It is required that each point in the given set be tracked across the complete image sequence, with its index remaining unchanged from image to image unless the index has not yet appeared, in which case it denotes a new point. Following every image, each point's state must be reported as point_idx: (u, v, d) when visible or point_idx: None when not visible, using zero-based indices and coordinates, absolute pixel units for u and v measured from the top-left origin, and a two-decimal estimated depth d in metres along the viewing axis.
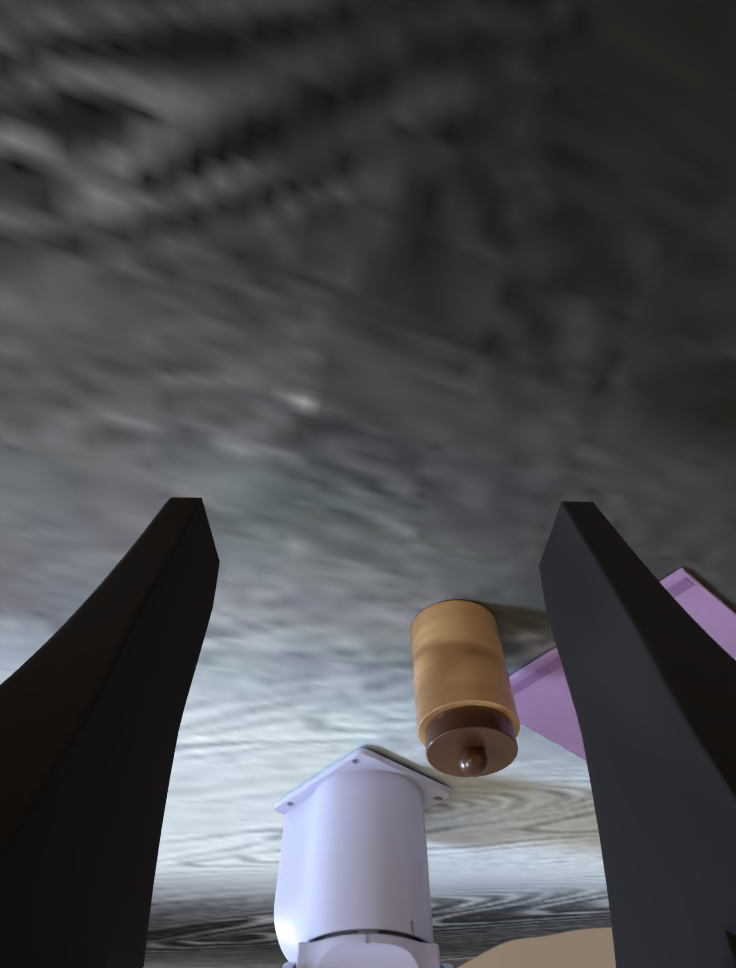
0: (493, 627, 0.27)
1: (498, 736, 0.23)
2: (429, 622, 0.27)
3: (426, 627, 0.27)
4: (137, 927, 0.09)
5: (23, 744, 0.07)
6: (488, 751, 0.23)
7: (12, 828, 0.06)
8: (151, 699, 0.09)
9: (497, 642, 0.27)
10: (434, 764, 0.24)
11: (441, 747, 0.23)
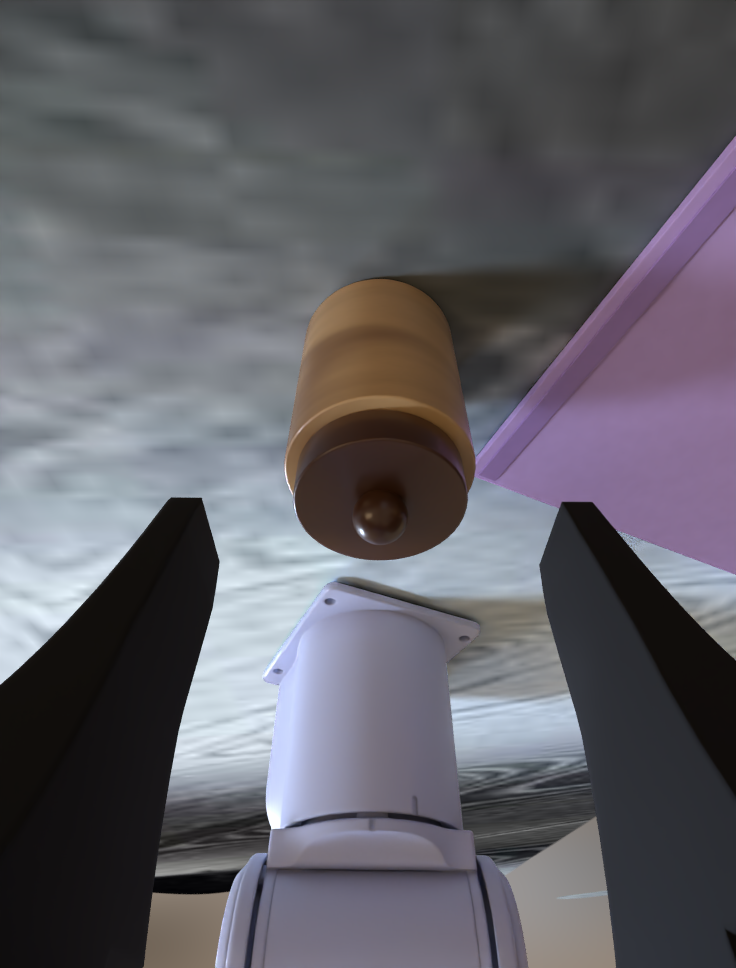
0: (427, 310, 0.15)
1: (410, 455, 0.11)
2: (313, 326, 0.15)
3: (309, 336, 0.16)
4: (137, 927, 0.09)
5: (23, 744, 0.07)
6: (409, 495, 0.12)
7: (12, 828, 0.06)
8: (151, 699, 0.09)
9: (431, 327, 0.14)
10: (325, 542, 0.13)
11: (316, 502, 0.12)
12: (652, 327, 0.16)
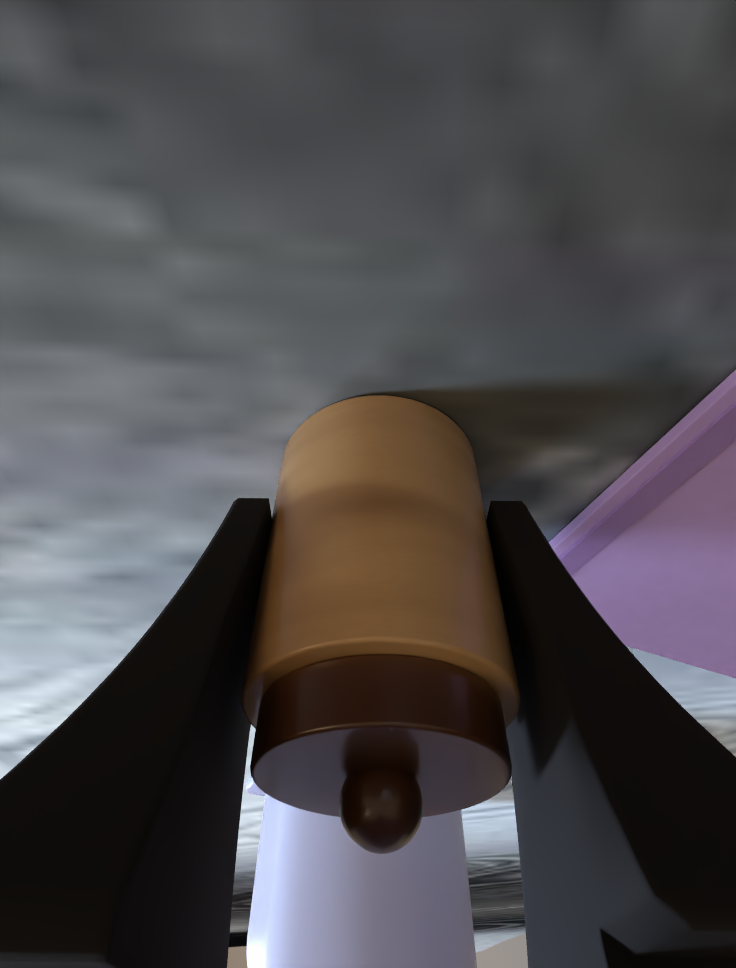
0: (444, 443, 0.11)
1: (427, 739, 0.07)
2: (290, 460, 0.11)
3: (284, 473, 0.11)
4: (223, 928, 0.09)
5: (135, 746, 0.07)
6: (424, 771, 0.08)
7: (143, 829, 0.06)
8: (232, 700, 0.09)
9: (452, 475, 0.10)
10: (302, 807, 0.09)
11: (285, 777, 0.08)
12: None
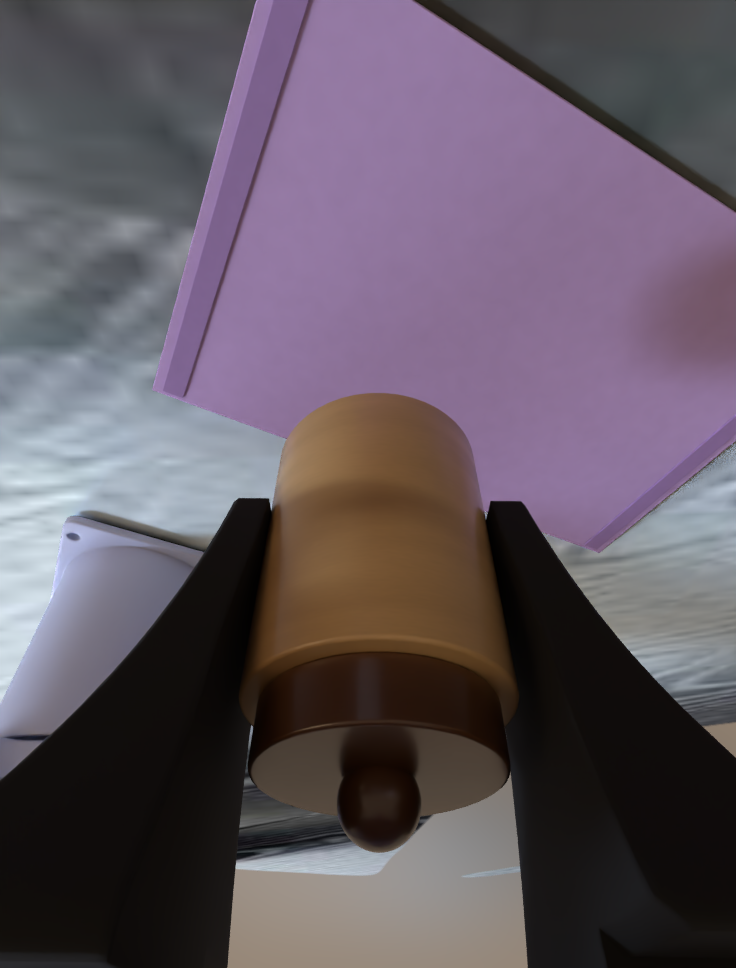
0: (443, 440, 0.11)
1: (425, 737, 0.07)
2: (288, 458, 0.11)
3: (282, 471, 0.11)
4: (223, 928, 0.09)
5: (135, 745, 0.07)
6: (422, 770, 0.08)
7: (144, 829, 0.06)
8: (233, 700, 0.09)
9: (450, 472, 0.10)
10: (300, 805, 0.09)
11: (283, 775, 0.08)
12: (265, 218, 0.16)
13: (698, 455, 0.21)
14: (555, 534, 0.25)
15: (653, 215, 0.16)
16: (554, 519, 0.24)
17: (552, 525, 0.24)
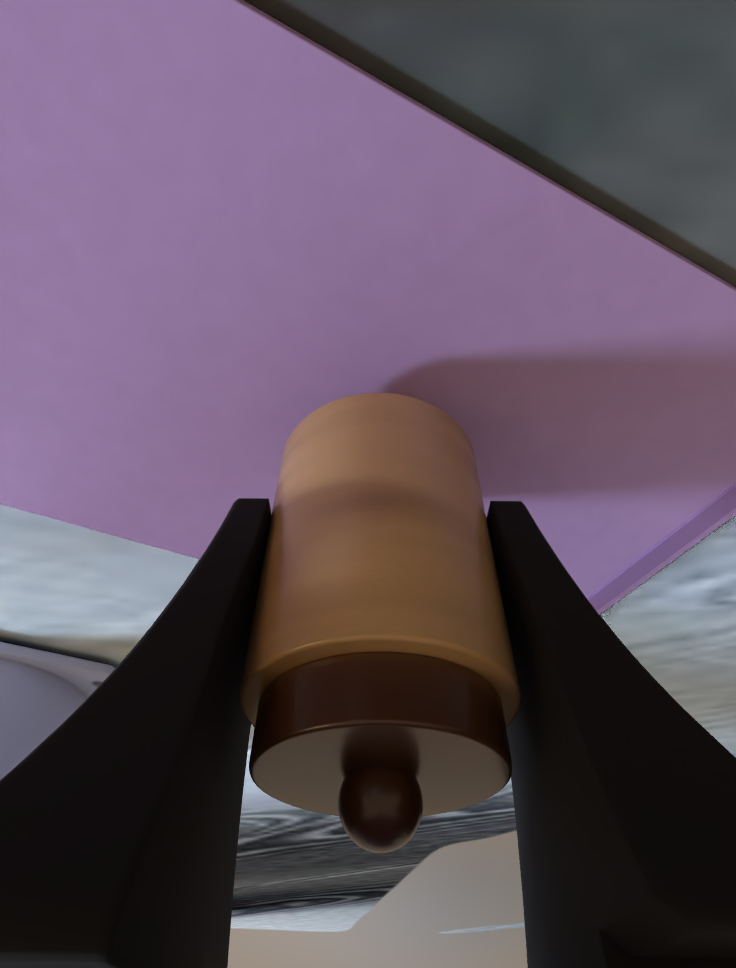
0: (444, 440, 0.11)
1: (427, 738, 0.07)
2: (289, 458, 0.11)
3: (283, 471, 0.11)
4: (223, 928, 0.09)
5: (136, 745, 0.07)
6: (424, 770, 0.08)
7: (144, 829, 0.06)
8: (233, 700, 0.09)
9: (452, 472, 0.10)
10: (301, 805, 0.09)
11: (284, 775, 0.08)
12: (9, 273, 0.11)
13: (657, 554, 0.17)
14: None
15: (563, 264, 0.11)
16: None
17: None
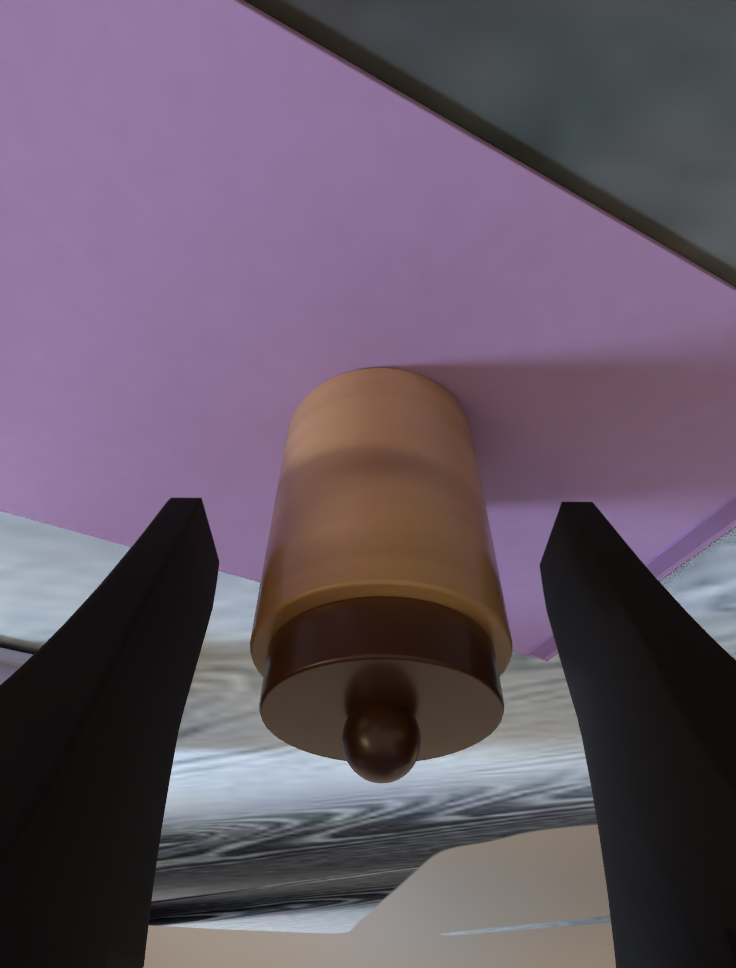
0: (442, 412, 0.12)
1: (424, 673, 0.08)
2: (295, 430, 0.12)
3: (289, 441, 0.12)
4: (137, 927, 0.09)
5: (23, 744, 0.07)
6: (422, 709, 0.09)
7: (12, 828, 0.06)
8: (151, 699, 0.09)
9: (449, 441, 0.11)
10: (307, 749, 0.10)
11: (292, 715, 0.09)
12: (3, 278, 0.11)
13: (661, 561, 0.16)
14: None
15: (569, 270, 0.11)
16: None
17: None
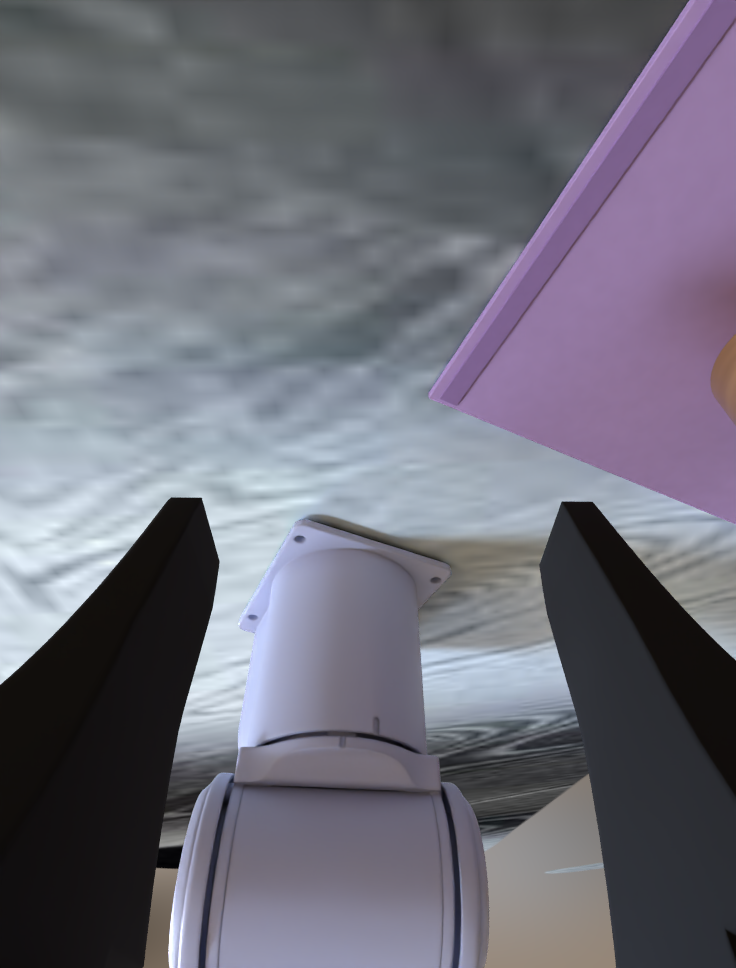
0: None
1: None
2: None
3: None
4: (137, 927, 0.09)
5: (23, 745, 0.07)
6: None
7: (12, 828, 0.06)
8: (151, 699, 0.09)
9: None
10: None
11: None
12: (602, 235, 0.16)
13: None
14: None
15: None
16: None
17: None
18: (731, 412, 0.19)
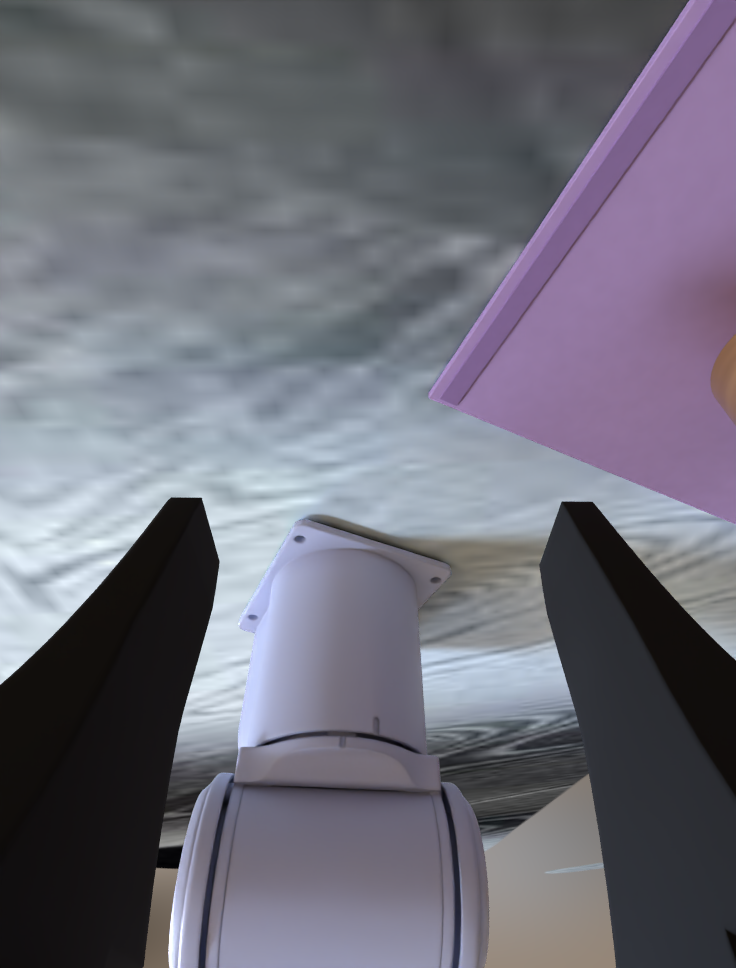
0: None
1: None
2: None
3: None
4: (137, 927, 0.09)
5: (23, 745, 0.07)
6: None
7: (12, 828, 0.06)
8: (151, 699, 0.09)
9: None
10: None
11: None
12: (602, 235, 0.16)
13: None
14: None
15: None
16: None
17: None
18: (731, 412, 0.19)
